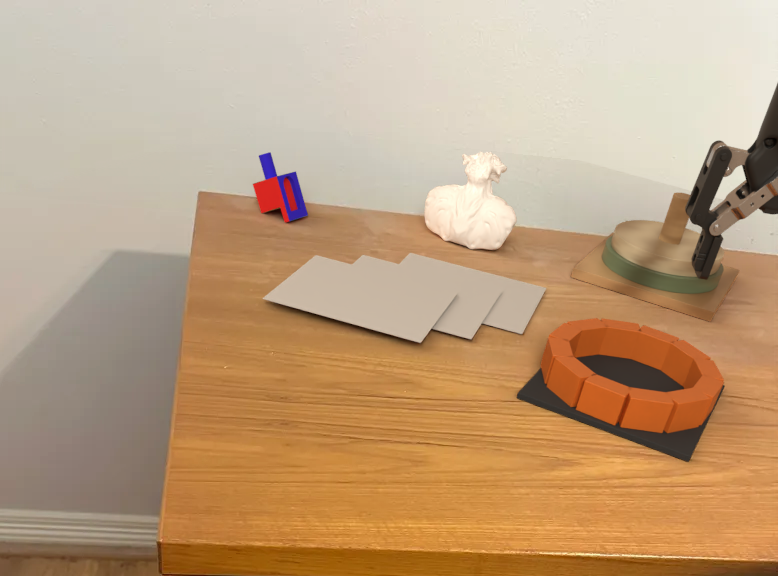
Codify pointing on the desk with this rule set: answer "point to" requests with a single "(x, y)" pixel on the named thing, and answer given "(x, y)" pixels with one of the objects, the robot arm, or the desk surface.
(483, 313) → the paper stack
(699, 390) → the orange ring
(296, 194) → the toy building block
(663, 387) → the mat
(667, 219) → the ring stack
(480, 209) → the bust
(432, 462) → the desk surface
